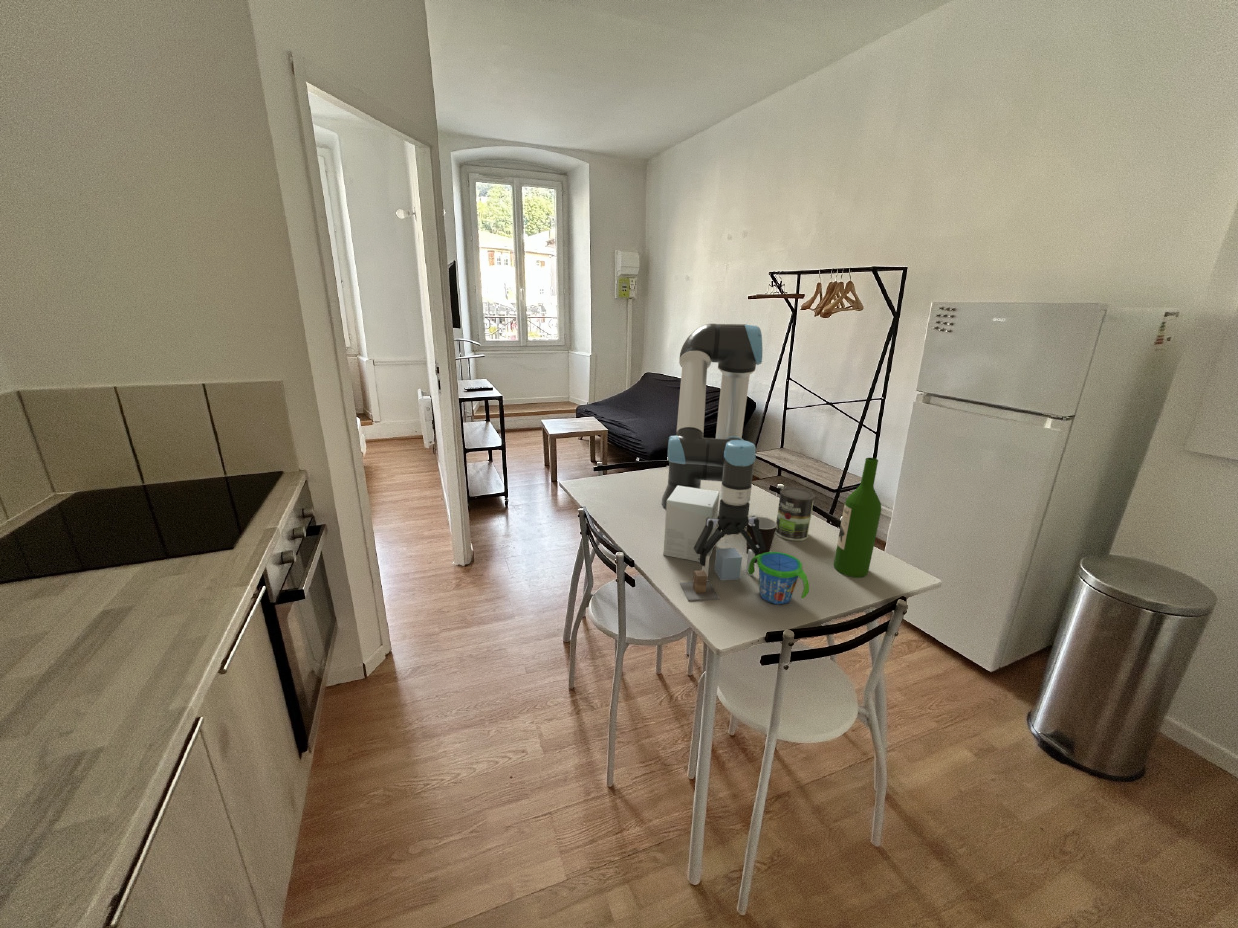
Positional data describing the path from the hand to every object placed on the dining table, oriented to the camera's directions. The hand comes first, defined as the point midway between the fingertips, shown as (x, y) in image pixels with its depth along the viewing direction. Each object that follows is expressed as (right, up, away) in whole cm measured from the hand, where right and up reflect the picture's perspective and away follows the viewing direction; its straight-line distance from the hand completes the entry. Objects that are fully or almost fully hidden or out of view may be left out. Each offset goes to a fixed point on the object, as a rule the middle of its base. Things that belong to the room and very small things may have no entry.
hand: (727, 574), depth 133 cm
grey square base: (-9, -3, -8) cm, 12 cm away
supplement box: (-8, +4, +13) cm, 16 cm away
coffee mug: (+12, +4, +14) cm, 19 cm away
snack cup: (+10, -4, -9) cm, 14 cm away
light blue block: (0, 0, 0) cm, 0 cm away
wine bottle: (+36, 0, +5) cm, 36 cm away
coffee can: (+26, +7, +25) cm, 37 cm away
